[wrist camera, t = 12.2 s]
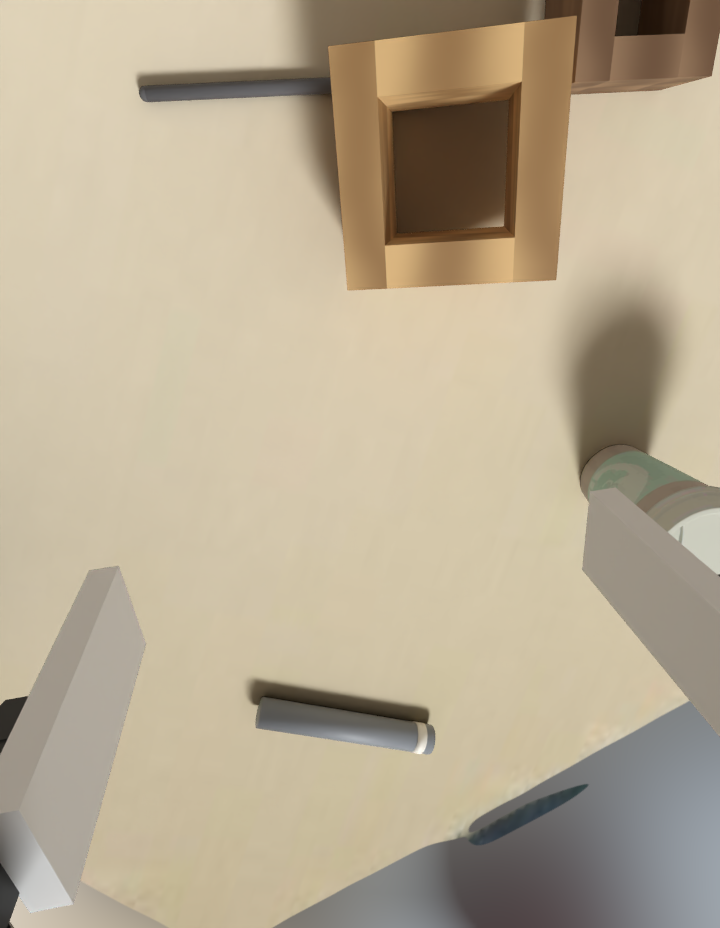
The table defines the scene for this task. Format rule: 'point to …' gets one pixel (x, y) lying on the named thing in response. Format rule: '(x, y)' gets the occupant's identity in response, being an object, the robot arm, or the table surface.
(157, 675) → the table surface
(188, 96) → the grey long thin rod
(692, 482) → the coffee cup
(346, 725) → the gray tube
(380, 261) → the light wooden square box
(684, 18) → the bead dark
